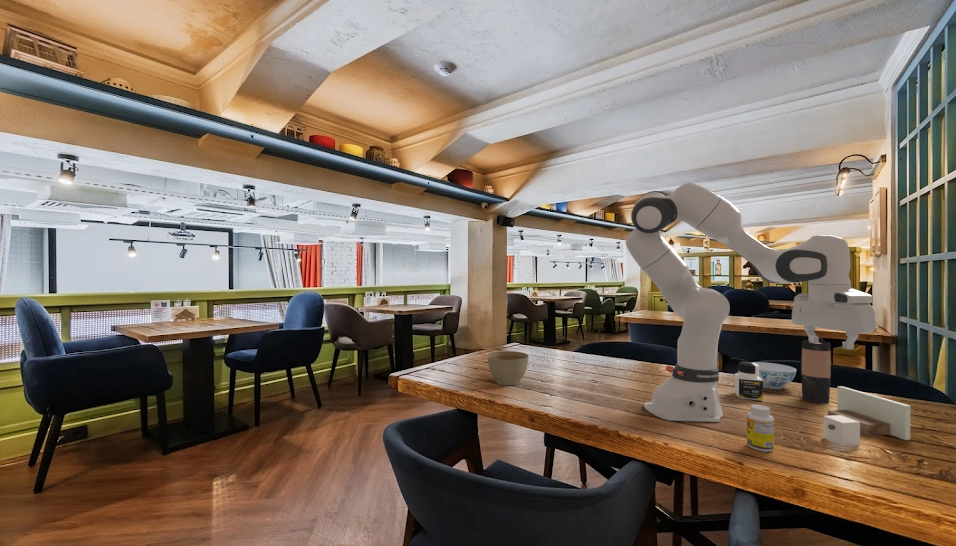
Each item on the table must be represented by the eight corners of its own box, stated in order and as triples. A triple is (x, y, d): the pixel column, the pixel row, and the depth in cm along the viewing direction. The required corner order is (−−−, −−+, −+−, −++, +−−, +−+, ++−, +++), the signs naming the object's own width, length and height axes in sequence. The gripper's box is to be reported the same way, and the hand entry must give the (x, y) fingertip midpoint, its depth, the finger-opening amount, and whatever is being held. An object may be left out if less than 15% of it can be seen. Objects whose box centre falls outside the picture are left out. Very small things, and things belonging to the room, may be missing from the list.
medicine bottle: (738, 398, 141) (739, 363, 141) (734, 392, 148) (734, 359, 148) (763, 401, 138) (763, 365, 138) (757, 395, 145) (758, 361, 145)
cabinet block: (839, 446, 103) (839, 423, 103) (820, 438, 108) (820, 415, 108) (859, 445, 103) (860, 422, 103) (840, 437, 108) (840, 415, 108)
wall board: (905, 440, 107) (905, 405, 107) (837, 415, 125) (837, 386, 125) (910, 439, 107) (910, 405, 107) (841, 415, 125) (841, 386, 125)
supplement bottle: (748, 441, 106) (748, 401, 106) (774, 447, 102) (775, 406, 102) (745, 448, 102) (745, 407, 101) (772, 454, 98) (773, 412, 98)
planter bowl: (489, 376, 169) (489, 350, 168) (528, 378, 166) (528, 351, 166) (484, 387, 153) (484, 358, 152) (528, 389, 150) (528, 360, 150)
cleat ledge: (867, 435, 109) (867, 424, 109) (827, 420, 120) (827, 410, 120) (890, 434, 110) (890, 423, 110) (848, 419, 121) (848, 409, 121)
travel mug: (835, 404, 135) (836, 344, 135) (809, 403, 136) (810, 343, 136) (821, 397, 142) (821, 340, 142) (796, 396, 144) (797, 339, 144)
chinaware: (748, 379, 166) (748, 360, 165) (795, 385, 157) (795, 365, 157) (746, 388, 153) (746, 367, 153) (797, 395, 145) (797, 373, 144)
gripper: (785, 293, 121) (786, 339, 121) (858, 297, 100) (859, 353, 100) (804, 292, 121) (804, 338, 122) (880, 296, 101) (881, 352, 101)
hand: (830, 345), depth 111 cm, fingers open, 8 cm apart
